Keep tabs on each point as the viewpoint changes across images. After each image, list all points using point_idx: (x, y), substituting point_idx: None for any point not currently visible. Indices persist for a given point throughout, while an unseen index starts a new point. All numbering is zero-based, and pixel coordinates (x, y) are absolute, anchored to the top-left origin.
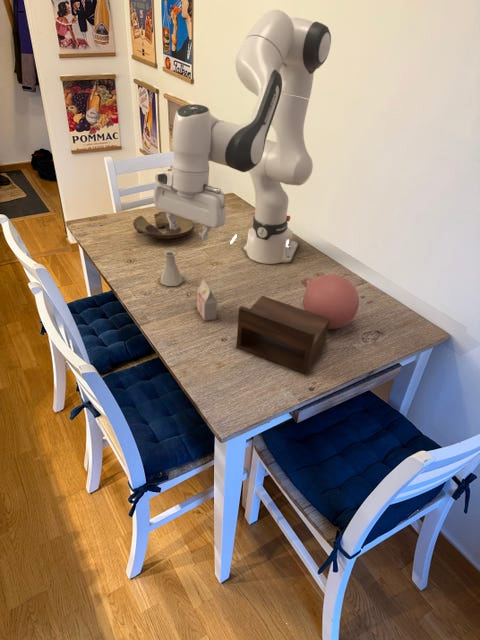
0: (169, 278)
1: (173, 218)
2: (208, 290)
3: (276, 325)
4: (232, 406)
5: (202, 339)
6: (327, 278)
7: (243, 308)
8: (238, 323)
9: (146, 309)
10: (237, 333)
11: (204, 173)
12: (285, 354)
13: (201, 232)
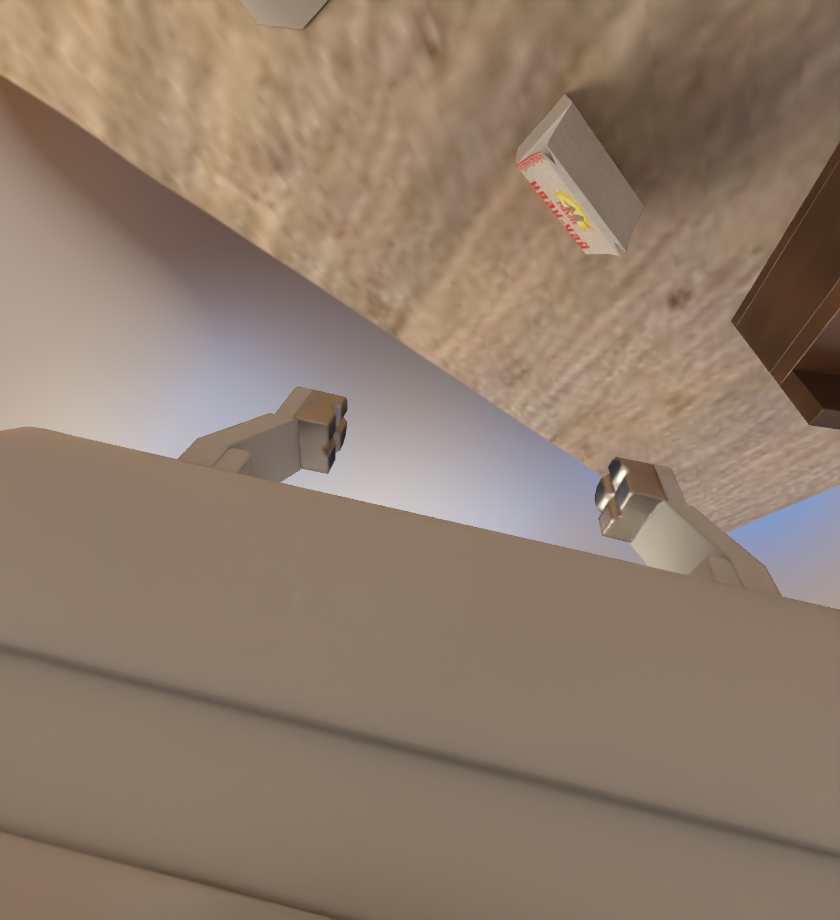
0: (284, 2)
1: (266, 448)
2: (606, 240)
3: None
4: (722, 494)
5: (599, 326)
6: None
7: (834, 422)
8: (776, 379)
9: (351, 260)
10: (755, 352)
11: None
12: None
13: (622, 516)
